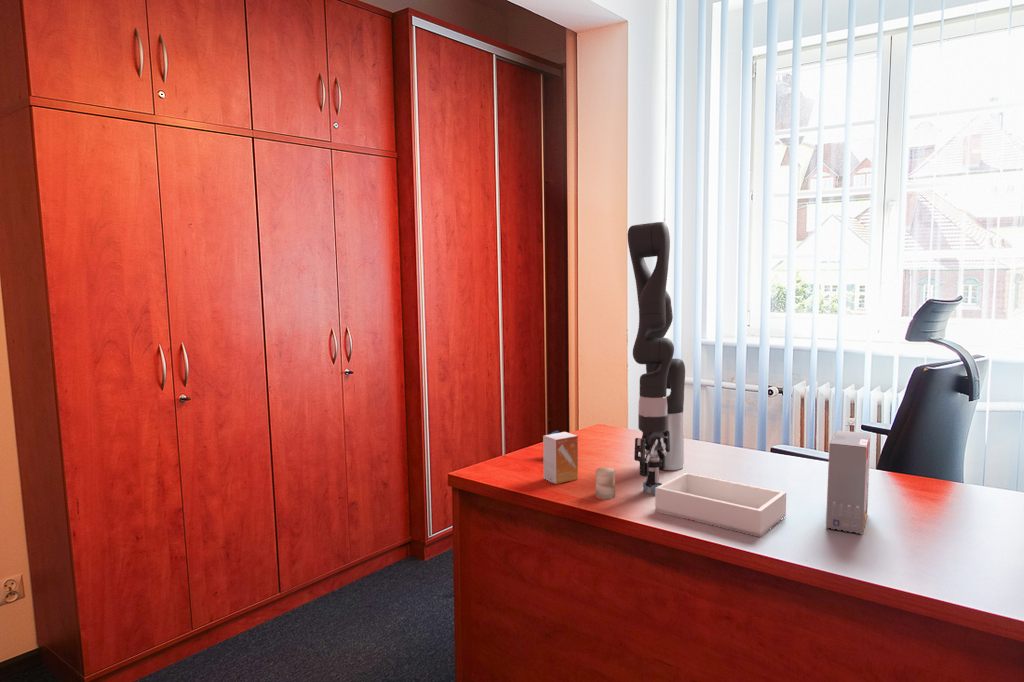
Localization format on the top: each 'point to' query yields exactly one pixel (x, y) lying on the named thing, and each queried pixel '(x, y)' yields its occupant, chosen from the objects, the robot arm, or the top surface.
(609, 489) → the maple cylinder
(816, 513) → the top surface
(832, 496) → the hard drive box
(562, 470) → the small box
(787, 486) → the top surface
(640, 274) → the robot arm
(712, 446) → the top surface
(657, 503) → the tote
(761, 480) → the top surface
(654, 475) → the push button
